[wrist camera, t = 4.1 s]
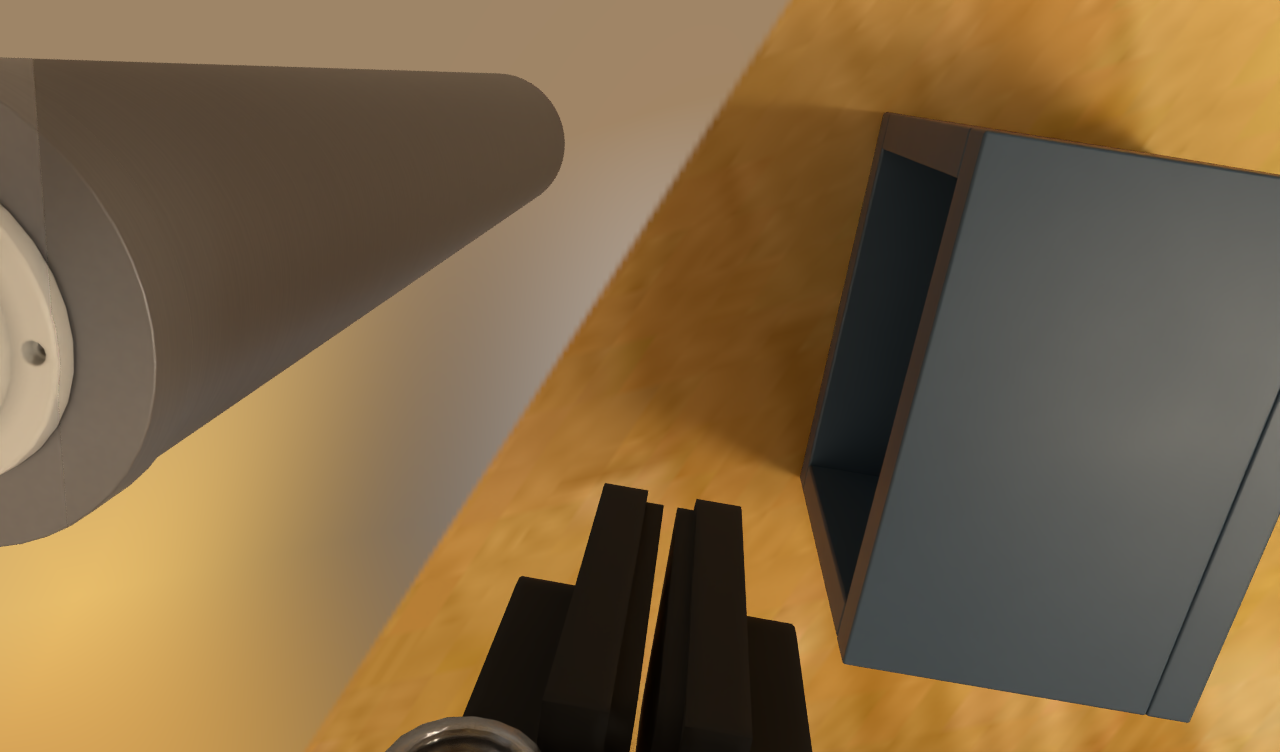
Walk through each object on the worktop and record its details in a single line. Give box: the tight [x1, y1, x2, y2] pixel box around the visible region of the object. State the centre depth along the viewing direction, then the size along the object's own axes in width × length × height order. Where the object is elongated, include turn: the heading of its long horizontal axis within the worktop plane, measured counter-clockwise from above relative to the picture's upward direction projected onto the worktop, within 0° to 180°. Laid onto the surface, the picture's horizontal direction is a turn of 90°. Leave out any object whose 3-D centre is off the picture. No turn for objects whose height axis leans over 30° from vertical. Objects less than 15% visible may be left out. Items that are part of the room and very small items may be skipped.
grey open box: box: [800, 112, 1280, 723], centre depth 23 cm, size 8×12×10 cm, turn 172°
